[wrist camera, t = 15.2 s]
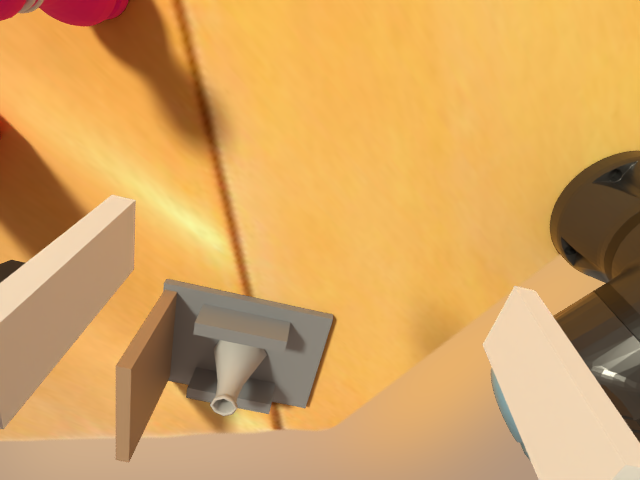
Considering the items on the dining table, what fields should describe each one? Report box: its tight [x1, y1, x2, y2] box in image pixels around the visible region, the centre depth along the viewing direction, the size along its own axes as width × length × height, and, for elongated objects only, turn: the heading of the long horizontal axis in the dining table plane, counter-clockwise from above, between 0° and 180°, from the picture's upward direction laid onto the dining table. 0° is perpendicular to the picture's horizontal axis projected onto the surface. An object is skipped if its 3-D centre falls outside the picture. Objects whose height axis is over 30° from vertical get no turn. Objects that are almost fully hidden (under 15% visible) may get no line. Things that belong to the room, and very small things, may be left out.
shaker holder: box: [116, 279, 333, 462], centre depth 56 cm, size 23×18×15 cm
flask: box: [210, 340, 267, 416], centre depth 57 cm, size 7×7×10 cm
